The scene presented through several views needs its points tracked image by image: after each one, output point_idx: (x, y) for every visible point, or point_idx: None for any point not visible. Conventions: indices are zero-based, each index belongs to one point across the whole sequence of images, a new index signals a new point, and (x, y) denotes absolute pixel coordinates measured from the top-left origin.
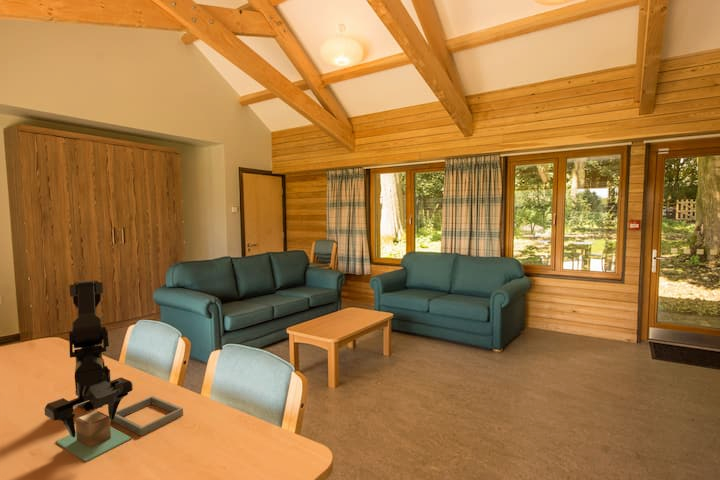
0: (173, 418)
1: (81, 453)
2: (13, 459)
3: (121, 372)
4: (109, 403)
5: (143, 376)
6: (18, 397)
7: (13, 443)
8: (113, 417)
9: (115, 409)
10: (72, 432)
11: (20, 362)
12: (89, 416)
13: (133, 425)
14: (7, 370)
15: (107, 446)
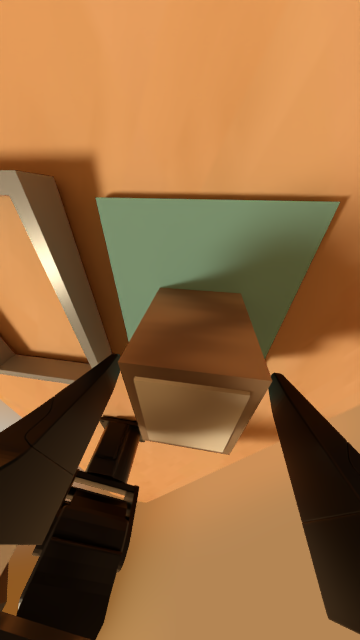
0: None
1: (283, 287)
2: (326, 411)
3: None
4: (75, 448)
5: None
6: (182, 478)
7: (270, 438)
8: (106, 361)
9: (68, 392)
10: (302, 399)
11: (148, 494)
12: (191, 433)
13: (57, 264)
14: (162, 495)
15: (201, 235)
